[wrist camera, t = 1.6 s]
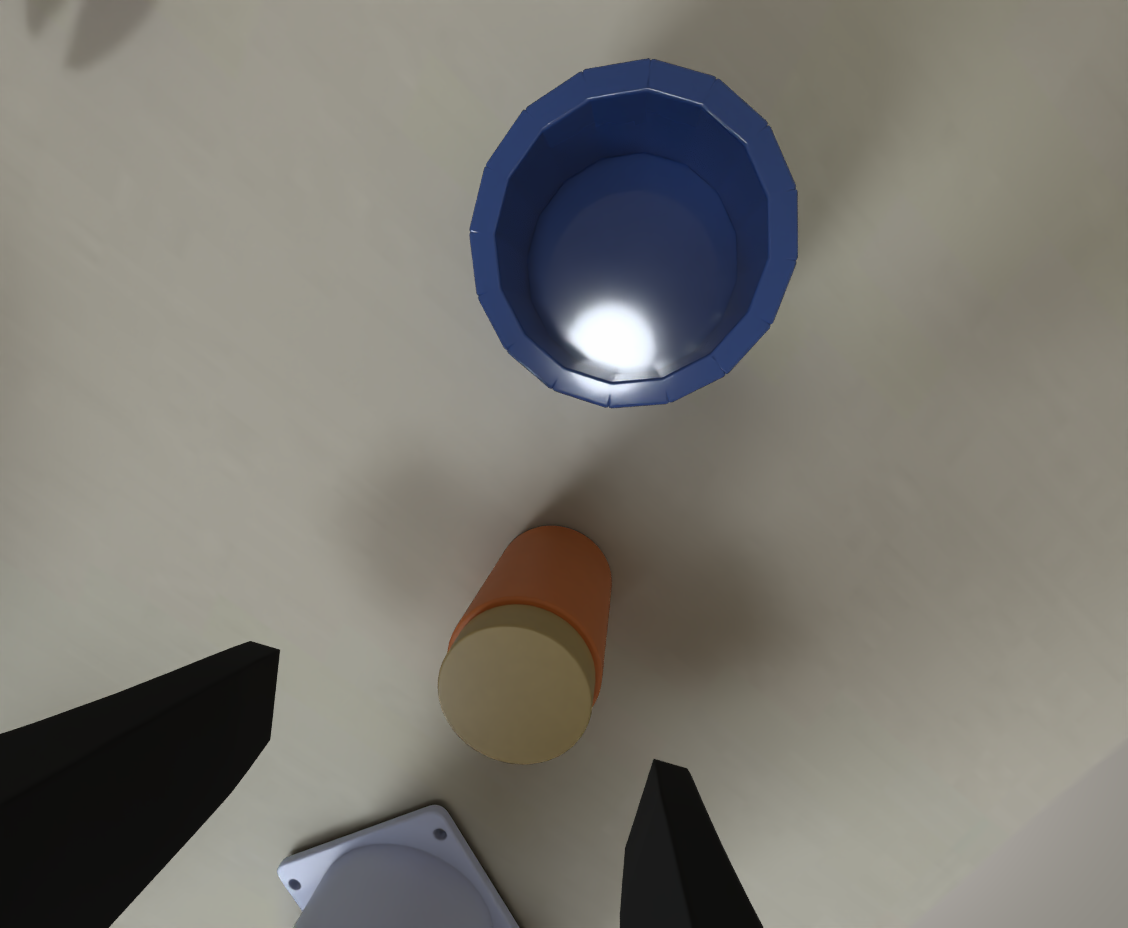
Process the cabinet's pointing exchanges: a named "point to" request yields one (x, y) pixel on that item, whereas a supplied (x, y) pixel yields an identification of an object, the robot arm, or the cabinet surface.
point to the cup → (634, 234)
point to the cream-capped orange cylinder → (530, 649)
